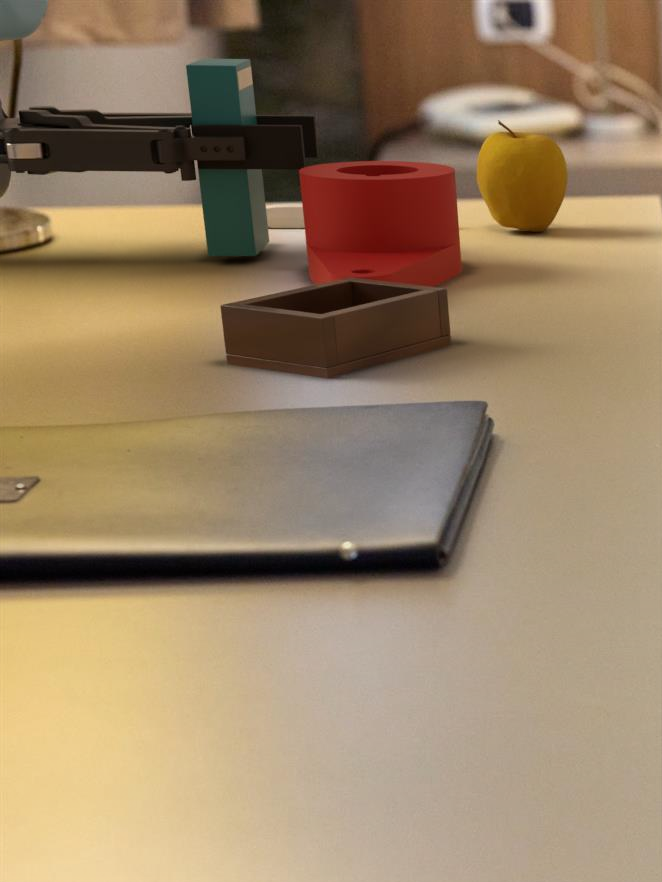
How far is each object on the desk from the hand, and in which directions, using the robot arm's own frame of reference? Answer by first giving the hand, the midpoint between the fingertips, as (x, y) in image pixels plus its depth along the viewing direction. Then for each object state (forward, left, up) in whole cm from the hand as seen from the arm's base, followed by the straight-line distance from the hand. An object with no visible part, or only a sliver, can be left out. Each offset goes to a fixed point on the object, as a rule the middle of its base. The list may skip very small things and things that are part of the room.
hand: (309, 141), depth 129 cm
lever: (+11, -7, -8) cm, 15 cm away
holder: (+23, -24, -8) cm, 34 cm away
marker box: (-4, -3, -7) cm, 9 cm away
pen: (-7, +11, -8) cm, 15 cm away
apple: (+5, +16, -8) cm, 19 cm away
